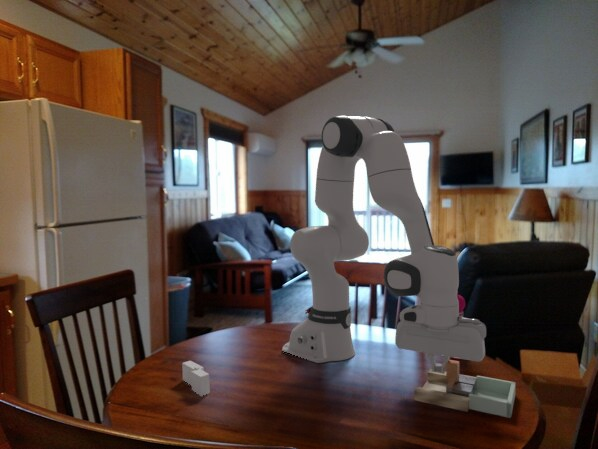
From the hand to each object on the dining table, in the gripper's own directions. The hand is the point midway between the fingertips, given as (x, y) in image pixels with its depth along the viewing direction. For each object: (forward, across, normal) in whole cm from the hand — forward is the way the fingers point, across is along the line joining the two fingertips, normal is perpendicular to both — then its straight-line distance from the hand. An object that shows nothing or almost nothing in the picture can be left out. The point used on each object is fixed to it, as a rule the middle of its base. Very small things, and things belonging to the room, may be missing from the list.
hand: (438, 372), depth 103 cm
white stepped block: (+6, +54, +25) cm, 60 cm away
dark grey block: (+4, -6, -2) cm, 8 cm away
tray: (+6, -12, 0) cm, 13 cm away
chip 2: (+5, -6, +2) cm, 8 cm away
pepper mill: (+6, +2, -28) cm, 29 cm away
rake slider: (+4, -3, 0) cm, 5 cm away
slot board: (+6, -2, 0) cm, 6 cm away
